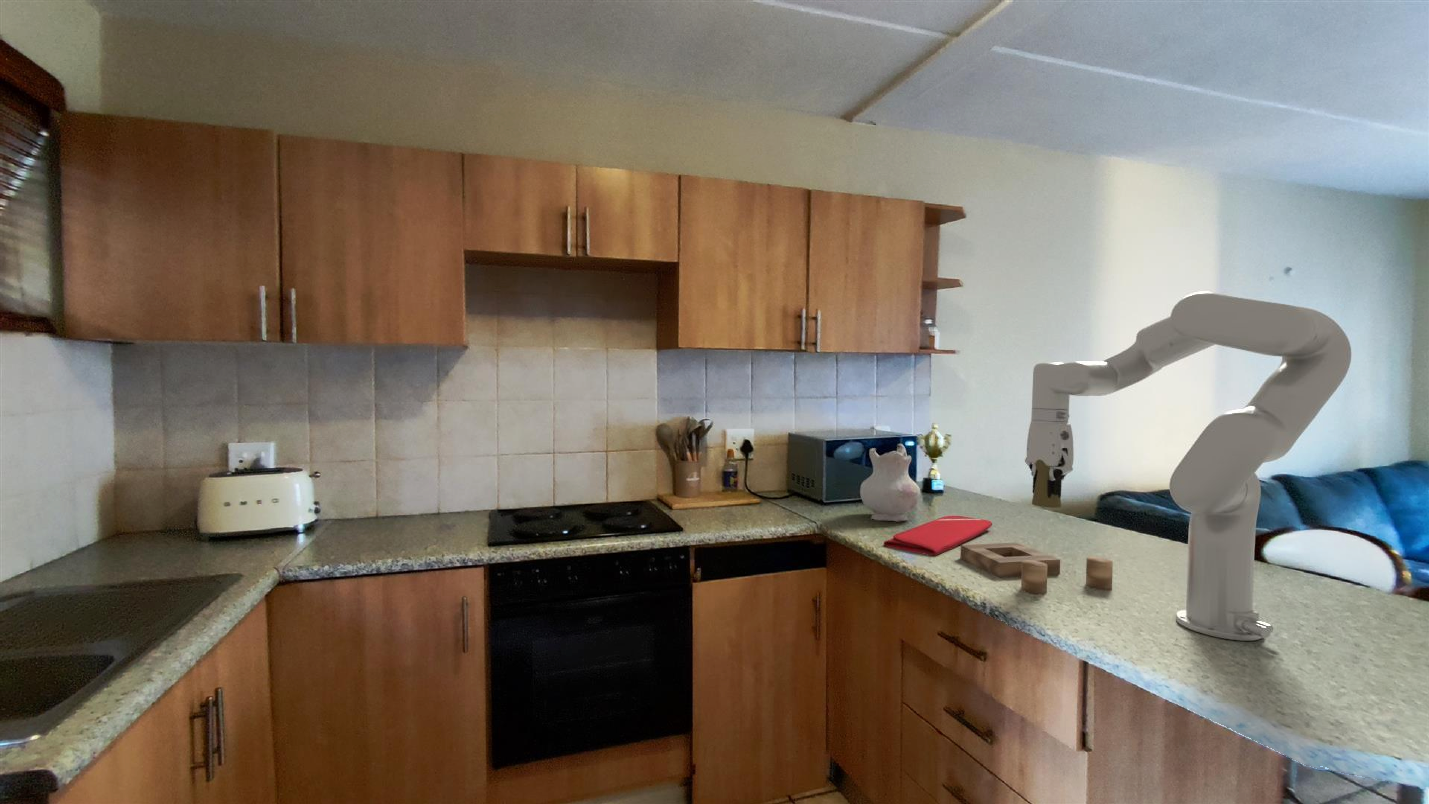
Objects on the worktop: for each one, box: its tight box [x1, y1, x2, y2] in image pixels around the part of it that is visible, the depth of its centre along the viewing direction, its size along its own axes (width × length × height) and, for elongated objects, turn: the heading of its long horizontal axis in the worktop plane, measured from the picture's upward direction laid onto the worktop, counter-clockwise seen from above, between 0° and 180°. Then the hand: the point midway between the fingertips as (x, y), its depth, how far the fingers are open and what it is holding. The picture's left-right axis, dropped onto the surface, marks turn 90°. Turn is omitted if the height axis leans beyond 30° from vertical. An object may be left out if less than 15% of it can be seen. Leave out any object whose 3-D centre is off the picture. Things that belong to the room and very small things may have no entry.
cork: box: [1031, 460, 1062, 509], centre depth 142 cm, size 6×6×11 cm
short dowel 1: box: [1020, 560, 1048, 595], centre depth 135 cm, size 5×5×6 cm
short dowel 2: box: [1085, 556, 1114, 591], centre depth 138 cm, size 5×5×6 cm
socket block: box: [959, 542, 1061, 578], centre depth 154 cm, size 16×16×4 cm
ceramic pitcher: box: [859, 443, 922, 523], centre depth 209 cm, size 22×20×25 cm
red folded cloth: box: [883, 515, 993, 557], centre depth 182 cm, size 16×41×4 cm, turn 136°
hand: (1046, 494), depth 142 cm, fingers closed on cork, 3 cm apart
